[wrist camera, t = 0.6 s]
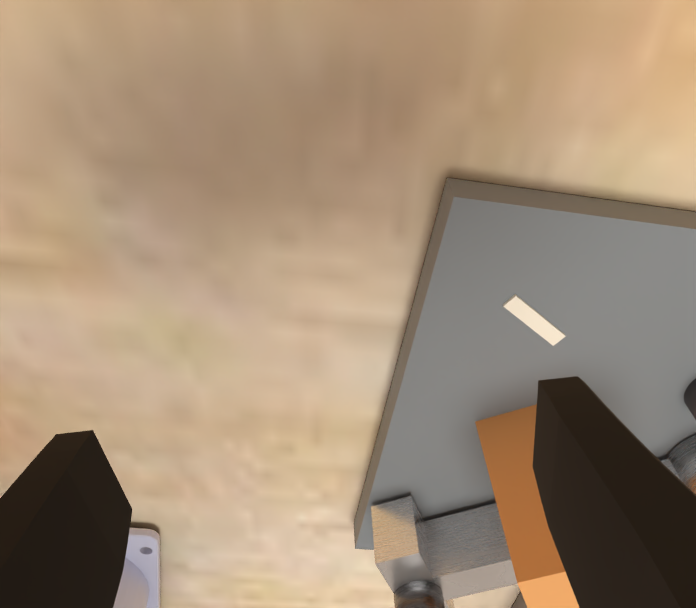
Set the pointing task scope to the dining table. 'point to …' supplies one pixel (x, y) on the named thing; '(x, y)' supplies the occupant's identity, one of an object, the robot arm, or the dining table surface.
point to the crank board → (534, 334)
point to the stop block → (523, 509)
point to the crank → (460, 546)
